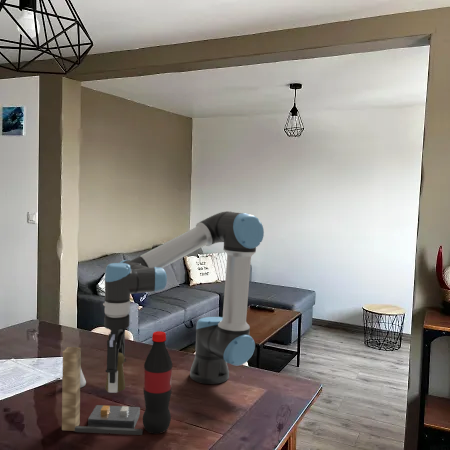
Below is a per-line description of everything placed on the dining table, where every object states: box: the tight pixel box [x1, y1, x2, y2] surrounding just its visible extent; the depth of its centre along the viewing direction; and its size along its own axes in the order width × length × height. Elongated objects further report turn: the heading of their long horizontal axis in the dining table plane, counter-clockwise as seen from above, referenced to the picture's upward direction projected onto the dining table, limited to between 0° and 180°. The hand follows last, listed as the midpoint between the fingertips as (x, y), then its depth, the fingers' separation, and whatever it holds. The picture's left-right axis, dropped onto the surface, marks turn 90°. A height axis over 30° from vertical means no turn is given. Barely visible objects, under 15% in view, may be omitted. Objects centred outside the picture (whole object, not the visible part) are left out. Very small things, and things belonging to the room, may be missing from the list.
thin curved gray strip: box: [74, 425, 144, 436], centre depth 140 cm, size 20×1×1 cm, turn 89°
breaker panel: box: [87, 404, 141, 429], centre depth 147 cm, size 14×9×4 cm, turn 89°
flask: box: [80, 365, 87, 389], centre depth 171 cm, size 7×7×10 cm
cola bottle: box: [142, 330, 173, 435], centre depth 142 cm, size 8×8×30 cm
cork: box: [104, 352, 126, 393], centre depth 146 cm, size 6×6×11 cm
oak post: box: [61, 346, 82, 432], centre depth 141 cm, size 4×4×24 cm
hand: (115, 387), depth 147 cm, fingers closed on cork, 6 cm apart
